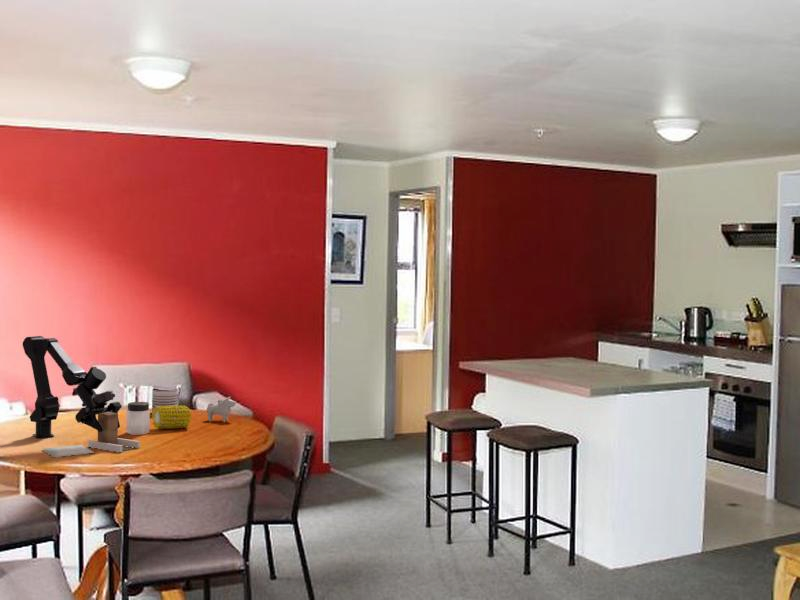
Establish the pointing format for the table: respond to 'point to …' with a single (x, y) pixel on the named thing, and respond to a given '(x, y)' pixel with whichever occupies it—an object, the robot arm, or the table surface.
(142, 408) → the jar
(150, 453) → the table surface
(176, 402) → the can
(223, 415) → the dog figurine
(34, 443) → the table surface
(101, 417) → the post
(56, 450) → the plate
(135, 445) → the channel
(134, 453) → the table surface
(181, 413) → the food
